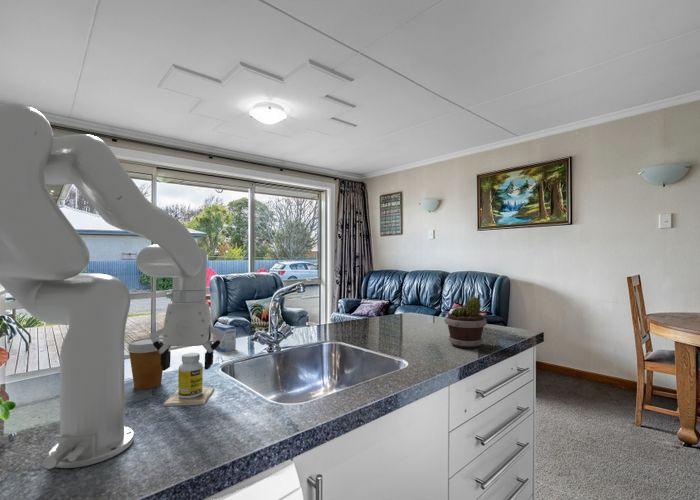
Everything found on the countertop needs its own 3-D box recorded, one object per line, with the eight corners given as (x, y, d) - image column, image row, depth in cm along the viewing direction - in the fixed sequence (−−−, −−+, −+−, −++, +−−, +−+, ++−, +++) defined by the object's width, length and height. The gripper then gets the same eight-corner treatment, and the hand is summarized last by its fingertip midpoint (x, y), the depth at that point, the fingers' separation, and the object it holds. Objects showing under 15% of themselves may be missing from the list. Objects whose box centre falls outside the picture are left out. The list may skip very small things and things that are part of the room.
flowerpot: (437, 345, 136) (436, 292, 136) (458, 339, 146) (458, 289, 146) (473, 353, 125) (472, 295, 125) (493, 345, 136) (493, 292, 136)
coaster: (204, 404, 84) (204, 401, 84) (163, 406, 83) (163, 403, 83) (214, 389, 93) (214, 387, 93) (177, 391, 92) (177, 388, 92)
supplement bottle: (191, 400, 85) (191, 358, 85) (173, 397, 87) (173, 356, 87) (207, 392, 90) (207, 352, 90) (190, 389, 92) (189, 350, 92)
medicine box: (212, 349, 133) (212, 325, 133) (222, 346, 137) (222, 323, 137) (225, 352, 129) (225, 328, 129) (236, 349, 132) (236, 325, 132)
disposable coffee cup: (150, 393, 91) (150, 345, 91) (118, 390, 93) (118, 344, 93) (175, 380, 100) (175, 337, 100) (145, 378, 102) (145, 335, 102)
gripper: (144, 298, 83) (142, 374, 83) (222, 298, 85) (220, 372, 85) (158, 296, 91) (155, 365, 90) (229, 296, 93) (227, 363, 92)
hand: (187, 368), depth 87 cm, fingers open, 9 cm apart
